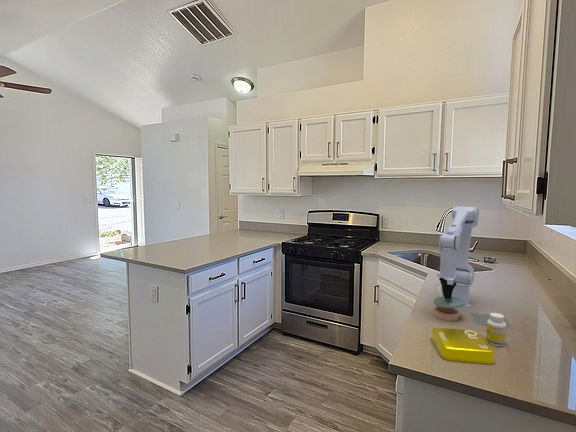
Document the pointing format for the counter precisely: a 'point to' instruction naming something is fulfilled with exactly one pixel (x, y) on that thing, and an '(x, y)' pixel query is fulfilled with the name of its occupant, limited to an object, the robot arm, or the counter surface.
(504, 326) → the supplement bottle
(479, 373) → the counter surface
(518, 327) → the counter surface
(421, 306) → the counter surface
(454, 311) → the bowl
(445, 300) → the lid
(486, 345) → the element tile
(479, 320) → the mat
